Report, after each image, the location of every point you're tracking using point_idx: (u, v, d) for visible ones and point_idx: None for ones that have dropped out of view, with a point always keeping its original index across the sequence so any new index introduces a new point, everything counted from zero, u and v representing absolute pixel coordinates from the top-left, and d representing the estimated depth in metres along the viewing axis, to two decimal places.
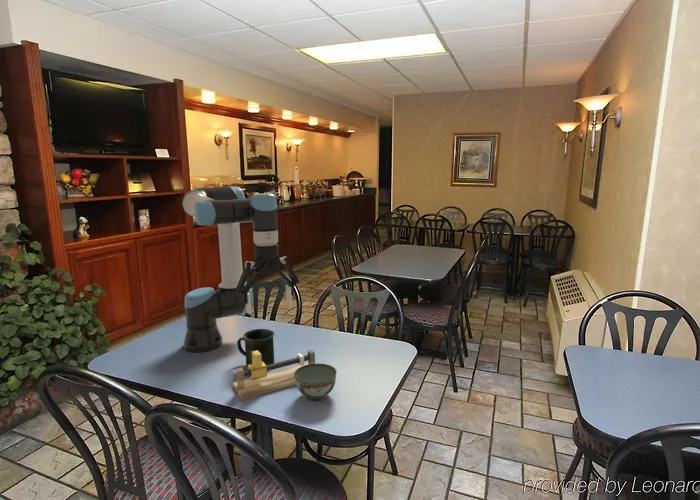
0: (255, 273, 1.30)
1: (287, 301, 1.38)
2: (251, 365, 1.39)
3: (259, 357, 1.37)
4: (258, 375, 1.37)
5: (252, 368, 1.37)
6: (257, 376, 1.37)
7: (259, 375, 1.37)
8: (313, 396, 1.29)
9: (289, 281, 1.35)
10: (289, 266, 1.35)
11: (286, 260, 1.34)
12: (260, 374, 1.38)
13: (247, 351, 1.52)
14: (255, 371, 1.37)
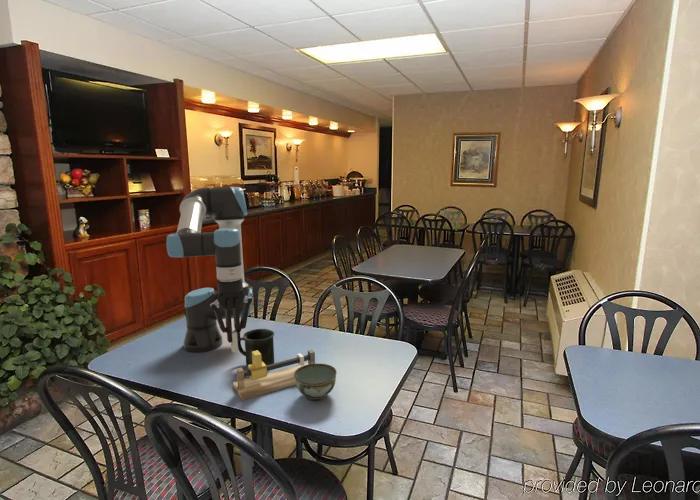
0: (226, 311, 1.30)
1: None
2: (251, 365, 1.39)
3: (259, 357, 1.37)
4: (258, 375, 1.37)
5: (252, 368, 1.37)
6: (257, 376, 1.37)
7: (259, 375, 1.37)
8: (313, 396, 1.29)
9: (238, 325, 1.32)
10: (247, 308, 1.32)
11: (249, 301, 1.32)
12: (260, 374, 1.38)
13: (247, 351, 1.52)
14: (255, 371, 1.37)
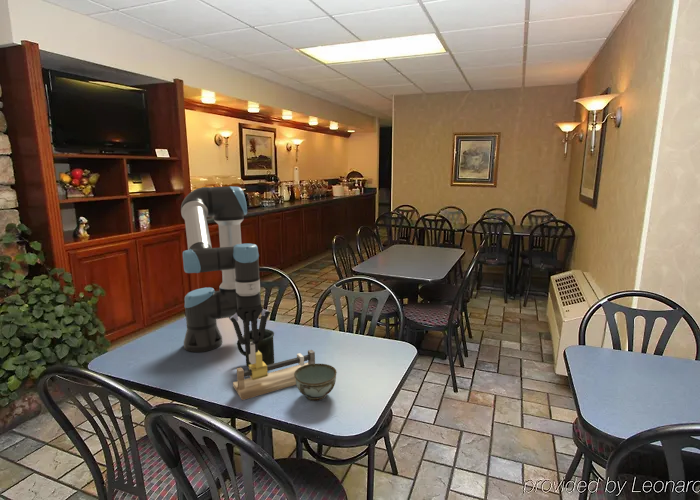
0: (244, 324, 1.34)
1: None
2: (252, 365, 1.39)
3: (260, 357, 1.37)
4: (259, 375, 1.38)
5: (253, 368, 1.37)
6: (258, 376, 1.37)
7: (259, 375, 1.38)
8: (313, 396, 1.29)
9: (256, 337, 1.36)
10: (265, 321, 1.36)
11: (266, 314, 1.36)
12: (261, 374, 1.38)
13: None
14: (255, 371, 1.37)
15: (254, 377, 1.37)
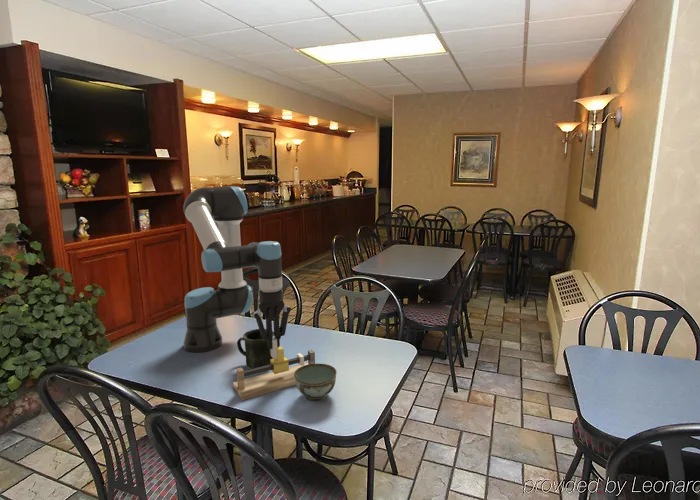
0: (267, 320, 1.38)
1: None
2: (273, 359, 1.42)
3: (281, 352, 1.41)
4: (280, 369, 1.41)
5: (275, 362, 1.40)
6: (279, 370, 1.41)
7: (281, 369, 1.41)
8: (313, 396, 1.29)
9: (278, 332, 1.39)
10: (286, 316, 1.40)
11: (288, 310, 1.40)
12: (282, 368, 1.42)
13: (247, 351, 1.52)
14: (277, 365, 1.40)
15: (276, 371, 1.41)
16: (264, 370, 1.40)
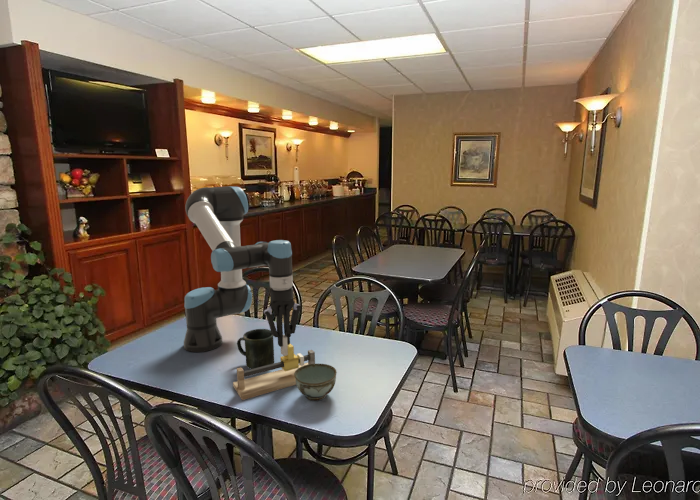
0: (277, 317, 1.39)
1: None
2: (283, 357, 1.44)
3: (291, 349, 1.42)
4: (290, 366, 1.43)
5: (285, 360, 1.42)
6: (289, 368, 1.43)
7: (291, 366, 1.43)
8: (313, 396, 1.29)
9: (288, 330, 1.41)
10: (297, 314, 1.42)
11: (298, 308, 1.42)
12: (292, 365, 1.43)
13: (247, 351, 1.52)
14: (287, 363, 1.42)
15: (286, 368, 1.42)
16: (264, 370, 1.40)
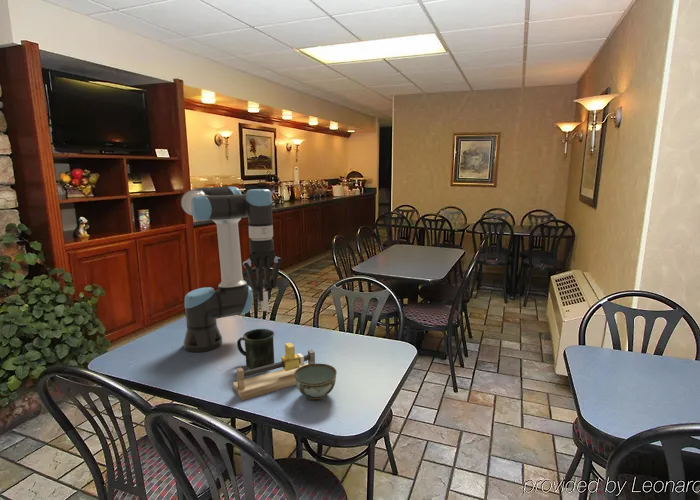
0: (257, 270, 1.33)
1: None
2: (284, 357, 1.44)
3: (292, 349, 1.43)
4: (291, 366, 1.43)
5: (286, 359, 1.42)
6: (290, 367, 1.43)
7: (292, 366, 1.43)
8: (313, 396, 1.29)
9: (268, 284, 1.35)
10: (278, 267, 1.36)
11: (279, 261, 1.36)
12: (293, 365, 1.44)
13: (247, 351, 1.52)
14: (288, 363, 1.42)
15: (287, 368, 1.43)
16: (264, 370, 1.40)
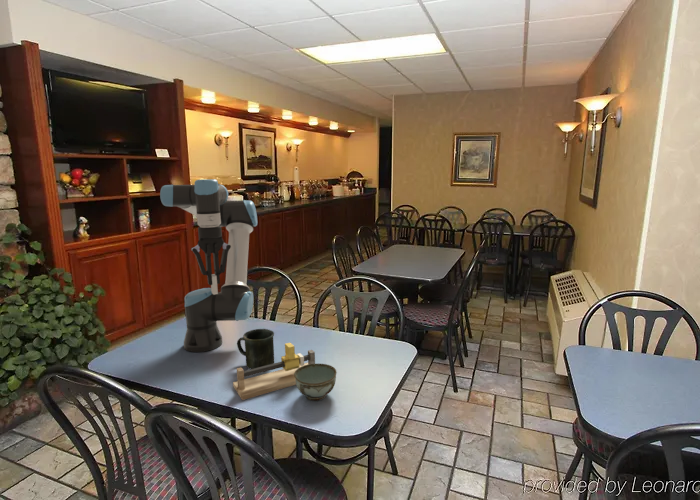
0: (206, 256, 1.42)
1: None
2: (284, 357, 1.44)
3: (292, 349, 1.43)
4: (291, 366, 1.43)
5: (286, 359, 1.42)
6: (290, 367, 1.43)
7: (292, 366, 1.43)
8: (313, 396, 1.29)
9: (217, 269, 1.44)
10: (226, 253, 1.44)
11: (227, 247, 1.44)
12: (293, 365, 1.44)
13: (247, 351, 1.52)
14: (288, 363, 1.42)
15: (287, 368, 1.43)
16: (264, 370, 1.40)
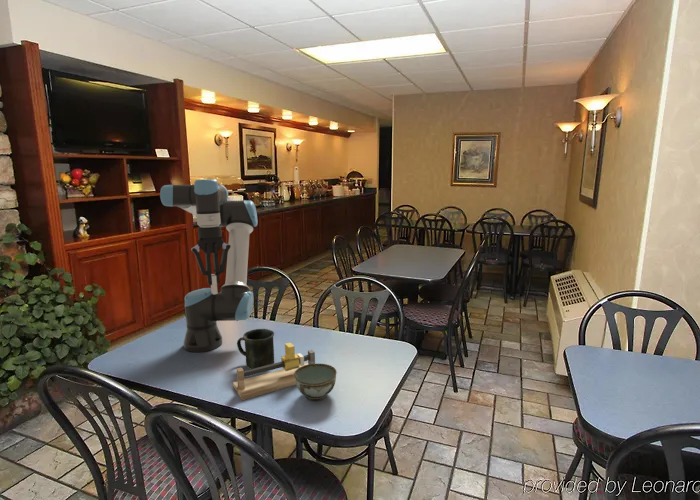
0: (206, 255, 1.42)
1: None
2: (284, 357, 1.44)
3: (292, 349, 1.43)
4: (291, 366, 1.43)
5: (286, 359, 1.42)
6: (290, 367, 1.43)
7: (292, 366, 1.43)
8: (313, 396, 1.29)
9: (217, 269, 1.44)
10: (226, 253, 1.44)
11: (227, 247, 1.44)
12: (293, 365, 1.44)
13: (247, 351, 1.52)
14: (288, 363, 1.42)
15: (287, 368, 1.43)
16: (264, 370, 1.40)
